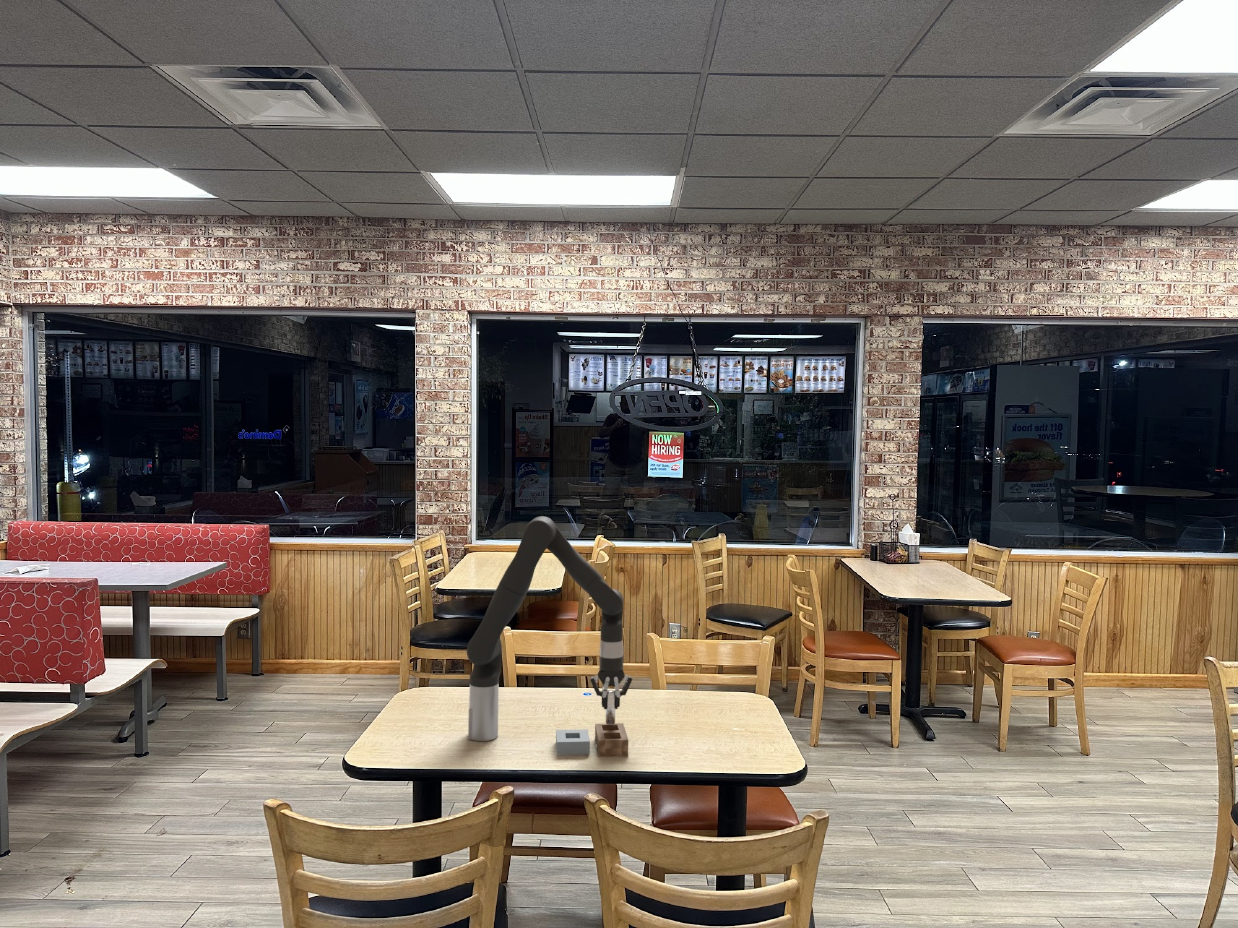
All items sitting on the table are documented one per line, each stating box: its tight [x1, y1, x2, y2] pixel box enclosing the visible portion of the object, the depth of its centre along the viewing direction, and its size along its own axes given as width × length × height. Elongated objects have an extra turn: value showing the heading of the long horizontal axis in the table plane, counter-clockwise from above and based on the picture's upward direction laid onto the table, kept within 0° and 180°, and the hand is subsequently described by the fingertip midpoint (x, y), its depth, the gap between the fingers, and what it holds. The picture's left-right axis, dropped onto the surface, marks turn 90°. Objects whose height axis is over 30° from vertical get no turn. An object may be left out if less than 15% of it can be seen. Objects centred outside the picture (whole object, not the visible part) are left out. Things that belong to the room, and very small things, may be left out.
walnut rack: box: [594, 722, 629, 758], centre depth 244 cm, size 9×14×5 cm, turn 6°
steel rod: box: [605, 689, 616, 724], centre depth 247 cm, size 3×3×10 cm
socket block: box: [555, 728, 591, 756], centre depth 243 cm, size 10×10×4 cm
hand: (610, 707), depth 248 cm, fingers closed on steel rod, 3 cm apart
